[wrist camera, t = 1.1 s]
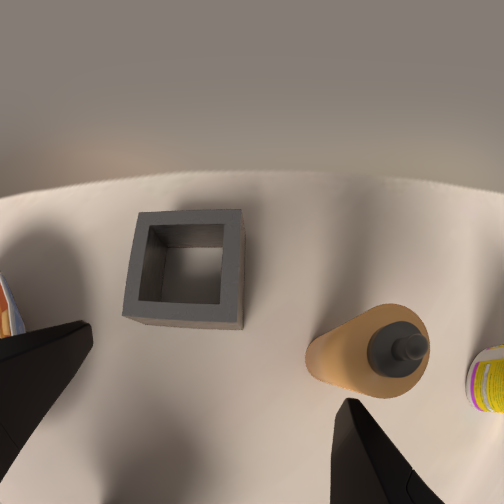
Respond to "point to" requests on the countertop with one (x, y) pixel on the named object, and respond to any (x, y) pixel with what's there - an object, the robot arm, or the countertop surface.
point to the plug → (373, 352)
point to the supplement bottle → (487, 380)
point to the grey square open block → (153, 261)
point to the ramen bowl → (9, 312)
